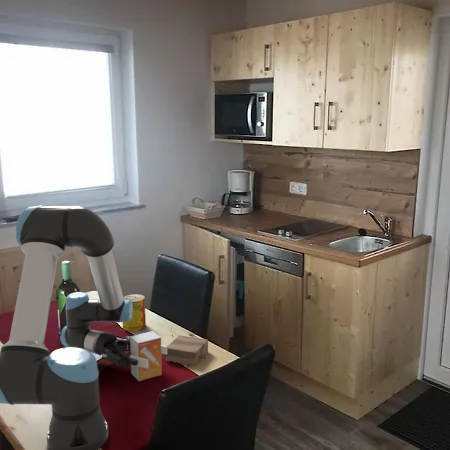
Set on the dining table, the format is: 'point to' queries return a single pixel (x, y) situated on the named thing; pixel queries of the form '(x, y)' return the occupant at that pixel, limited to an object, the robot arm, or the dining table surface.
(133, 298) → the yellow food can
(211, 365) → the dining table surface
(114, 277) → the robot arm
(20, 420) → the dining table surface
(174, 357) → the walnut block
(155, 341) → the small box
